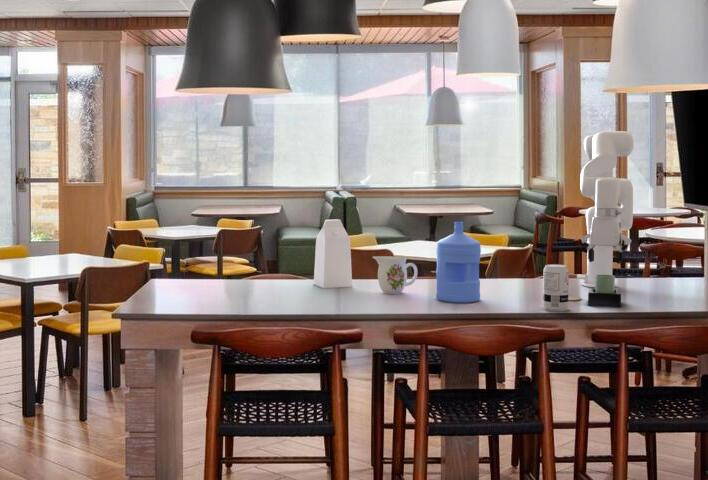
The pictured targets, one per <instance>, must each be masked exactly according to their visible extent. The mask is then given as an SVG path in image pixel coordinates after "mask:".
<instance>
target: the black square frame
mask: <svg viewBox="0 0 708 480" xmlns="http://www.w3.org/2000/svg"><path fill="white" fill-rule="evenodd" d="M587 291H588V292H587V306H588V307H604V308H622V290H621V289H615V288H614V293H599V292H595V288H594V287H588V290H587Z"/></svg>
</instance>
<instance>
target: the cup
mask: <svg viewBox="0 0 708 480" xmlns="http://www.w3.org/2000/svg"><path fill="white" fill-rule="evenodd" d="M615 279H616V276H615V275H613V274H612V275H595V288H594V289H595V292H599V293H614V289H615V288H616V287H615V283H616V282H615V281H616V280H615Z"/></svg>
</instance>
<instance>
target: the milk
mask: <svg viewBox="0 0 708 480" xmlns="http://www.w3.org/2000/svg"><path fill="white" fill-rule="evenodd" d="M351 248H352V247H351V238H350V236H349V234H348V232H347V231H346V229H345V227H344V224H343V222H342V220H341V219H325V220H324V221H323V225H322V227H321V229H320V231H319V232H318V234H317V236H316V239H315V251H314V252H315V253H314V271H313V285H315V286H317V287H319V288H321V289H335V288H352V287H353V275H352V274H353V271H352V269H353V268H352V251H351V250H352V249H351Z"/></svg>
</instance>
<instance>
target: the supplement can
mask: <svg viewBox="0 0 708 480" xmlns="http://www.w3.org/2000/svg"><path fill="white" fill-rule="evenodd" d="M542 273H543V277H542V308H544V310H545V311H548V312H565V311H567V310H568V309H569V301H568V296H569V288H570V287H569V286H570V285H569V281H570V280H569V277H570V271H569V268H568V265H566V264H557V263H554V264H553V263H552V264H545V266H544V268H543V272H542Z"/></svg>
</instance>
